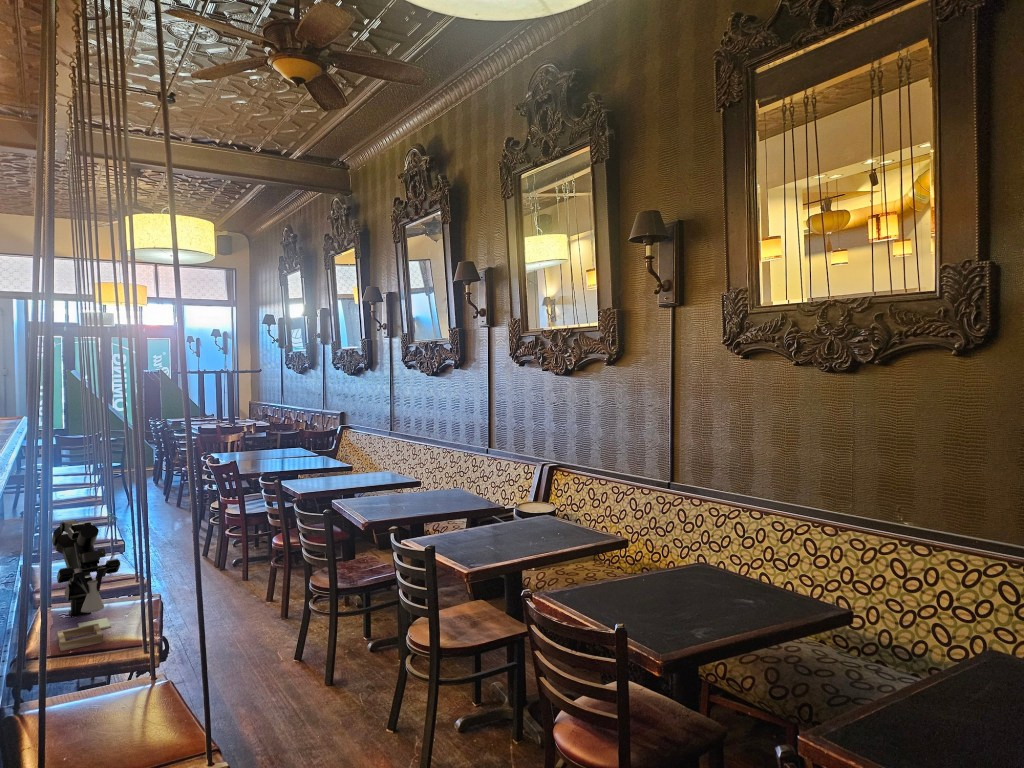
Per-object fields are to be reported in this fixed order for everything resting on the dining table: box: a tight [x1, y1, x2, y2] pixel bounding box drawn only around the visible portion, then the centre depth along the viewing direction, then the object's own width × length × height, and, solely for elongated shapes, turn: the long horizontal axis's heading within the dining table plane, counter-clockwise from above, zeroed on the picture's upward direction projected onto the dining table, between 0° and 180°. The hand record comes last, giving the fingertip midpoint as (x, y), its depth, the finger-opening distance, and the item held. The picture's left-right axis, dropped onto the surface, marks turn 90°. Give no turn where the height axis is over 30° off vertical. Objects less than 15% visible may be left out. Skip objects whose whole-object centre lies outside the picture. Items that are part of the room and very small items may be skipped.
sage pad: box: [77, 617, 112, 630], centre depth 242 cm, size 9×9×1 cm
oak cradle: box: [56, 624, 105, 652], centre depth 230 cm, size 12×12×2 cm
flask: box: [81, 579, 105, 613], centre depth 240 cm, size 7×7×10 cm
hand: (93, 591), depth 239 cm, fingers closed on flask, 3 cm apart
